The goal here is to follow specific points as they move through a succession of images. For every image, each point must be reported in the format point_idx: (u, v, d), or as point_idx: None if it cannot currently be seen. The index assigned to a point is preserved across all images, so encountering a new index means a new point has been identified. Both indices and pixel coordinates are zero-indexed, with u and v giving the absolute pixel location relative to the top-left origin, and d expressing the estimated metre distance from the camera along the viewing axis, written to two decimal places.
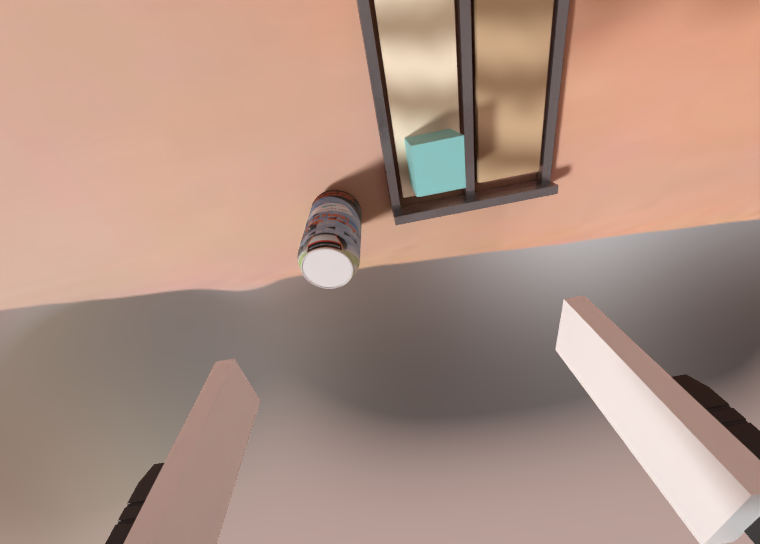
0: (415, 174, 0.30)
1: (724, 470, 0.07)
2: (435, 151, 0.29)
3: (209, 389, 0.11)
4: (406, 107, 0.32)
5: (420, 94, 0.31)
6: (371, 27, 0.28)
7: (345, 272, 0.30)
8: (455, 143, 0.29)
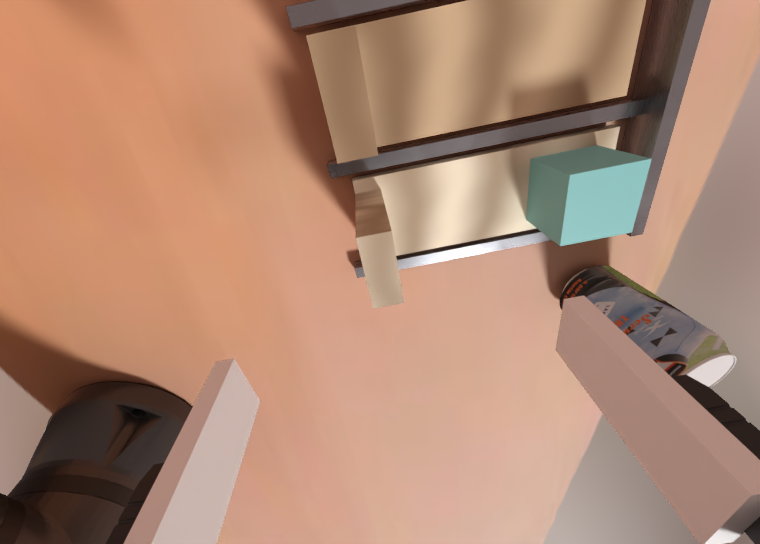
0: (598, 237, 0.22)
1: (724, 470, 0.07)
2: (578, 214, 0.21)
3: (209, 389, 0.11)
4: (492, 219, 0.26)
5: (482, 203, 0.25)
6: (412, 258, 0.27)
7: (719, 361, 0.21)
8: (576, 186, 0.20)
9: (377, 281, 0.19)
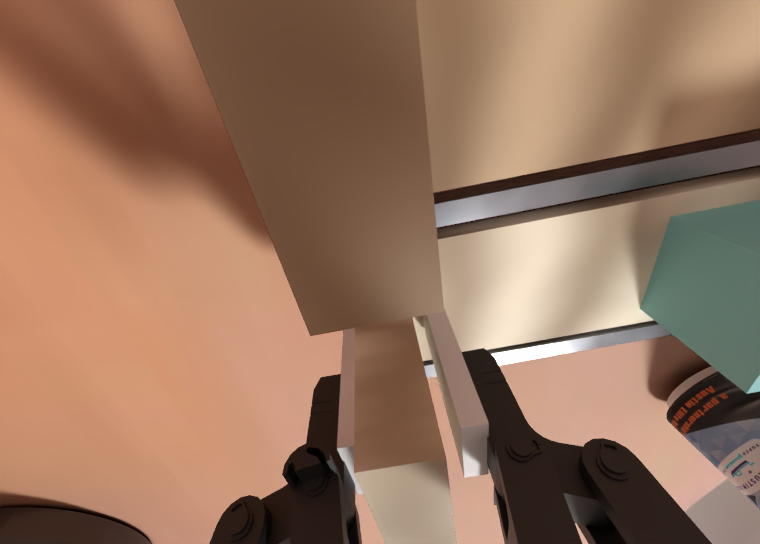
0: None
1: None
2: None
3: None
4: (584, 309, 0.15)
5: (572, 285, 0.15)
6: None
7: None
8: None
9: (402, 526, 0.08)
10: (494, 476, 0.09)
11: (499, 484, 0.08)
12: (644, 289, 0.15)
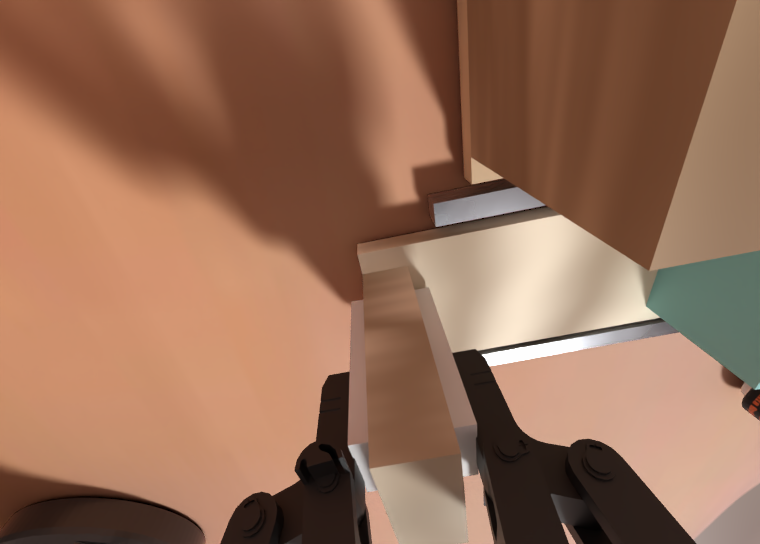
0: None
1: None
2: None
3: (358, 320, 0.13)
4: (590, 306, 0.15)
5: (578, 283, 0.15)
6: (543, 345, 0.17)
7: None
8: None
9: (415, 522, 0.08)
10: (483, 477, 0.09)
11: (488, 485, 0.08)
12: (650, 286, 0.15)
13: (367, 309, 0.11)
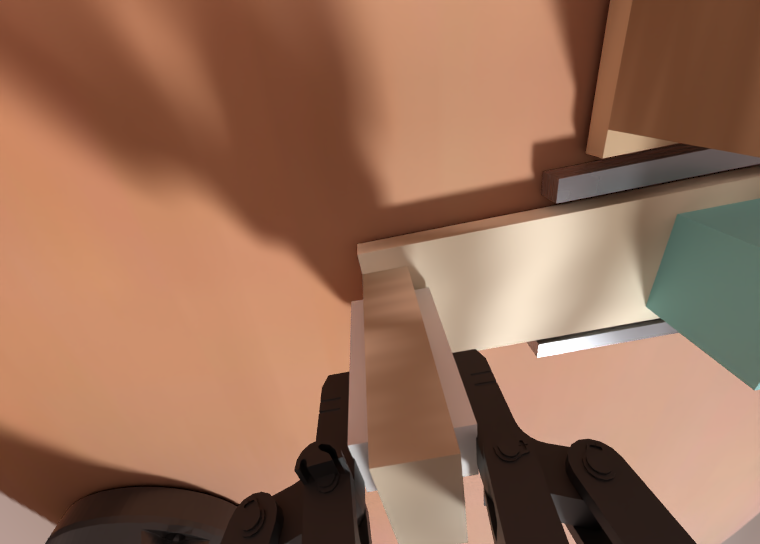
0: None
1: None
2: None
3: (358, 320, 0.13)
4: (590, 307, 0.15)
5: (578, 283, 0.15)
6: (635, 329, 0.17)
7: None
8: None
9: (415, 522, 0.08)
10: (483, 477, 0.09)
11: (488, 485, 0.08)
12: (650, 287, 0.15)
13: (367, 309, 0.11)
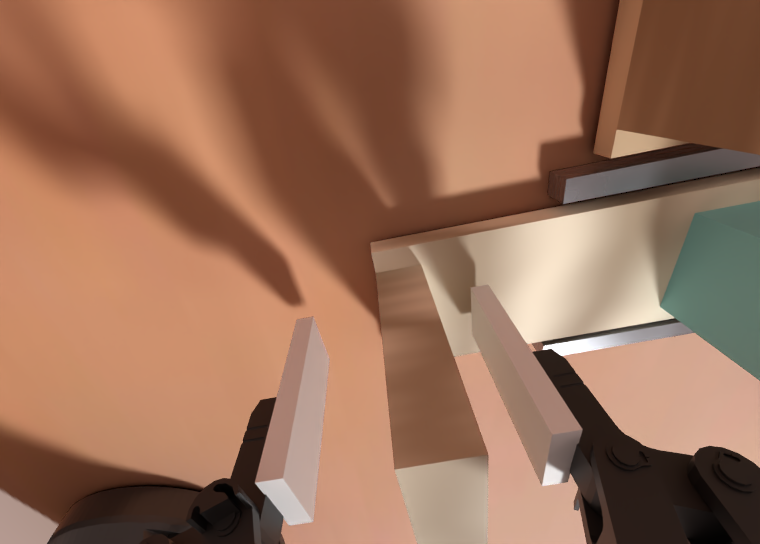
0: None
1: (542, 418, 0.08)
2: None
3: (298, 340, 0.12)
4: (604, 306, 0.15)
5: (593, 283, 0.14)
6: (641, 330, 0.16)
7: None
8: None
9: (436, 524, 0.08)
10: (583, 480, 0.08)
11: (589, 489, 0.08)
12: (665, 287, 0.15)
13: (383, 308, 0.11)
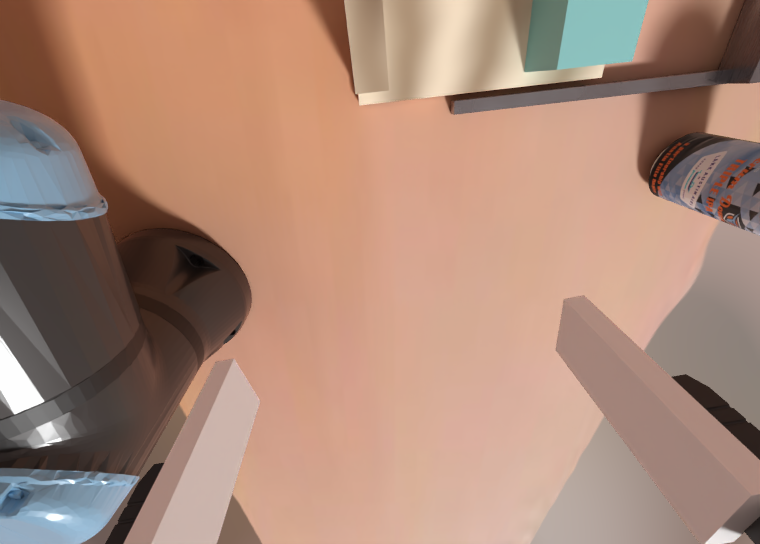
0: (597, 63, 0.21)
1: (724, 470, 0.07)
2: (578, 26, 0.20)
3: (209, 389, 0.11)
4: (489, 66, 0.25)
5: (480, 43, 0.24)
6: (516, 95, 0.26)
7: None
8: None
9: (361, 52, 0.17)
10: None
11: None
12: (525, 54, 0.24)
13: None
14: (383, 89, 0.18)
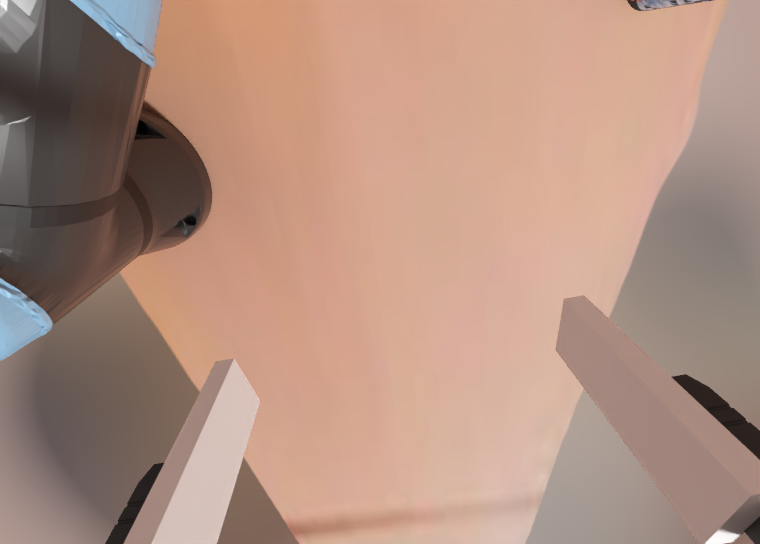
0: None
1: (724, 470, 0.07)
2: None
3: (209, 390, 0.11)
4: None
5: None
6: None
7: None
8: None
9: None
10: None
11: None
12: None
13: None
14: None
